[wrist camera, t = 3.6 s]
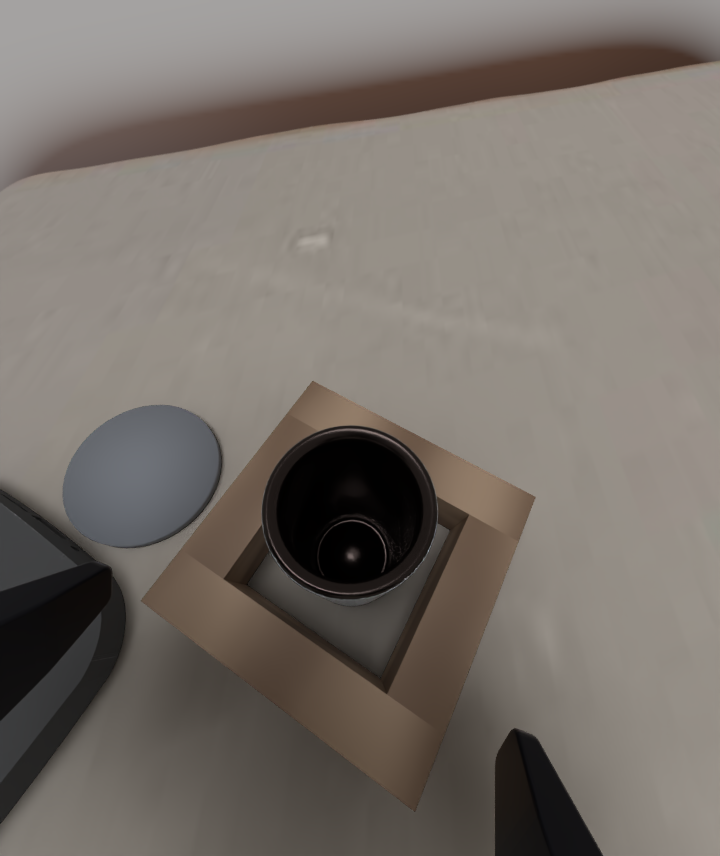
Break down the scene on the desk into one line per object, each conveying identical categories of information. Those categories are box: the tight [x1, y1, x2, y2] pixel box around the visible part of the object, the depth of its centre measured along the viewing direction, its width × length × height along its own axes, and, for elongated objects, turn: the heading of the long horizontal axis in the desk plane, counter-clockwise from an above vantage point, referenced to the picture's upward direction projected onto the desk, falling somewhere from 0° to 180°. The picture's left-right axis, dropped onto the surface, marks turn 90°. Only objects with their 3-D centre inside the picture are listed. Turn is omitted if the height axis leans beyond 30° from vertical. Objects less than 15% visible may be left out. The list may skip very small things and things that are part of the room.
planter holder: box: [141, 381, 535, 812], centre depth 17 cm, size 12×12×4 cm
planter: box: [261, 425, 438, 606], centre depth 14 cm, size 4×4×10 cm
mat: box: [63, 405, 221, 548], centre depth 20 cm, size 8×8×1 cm
